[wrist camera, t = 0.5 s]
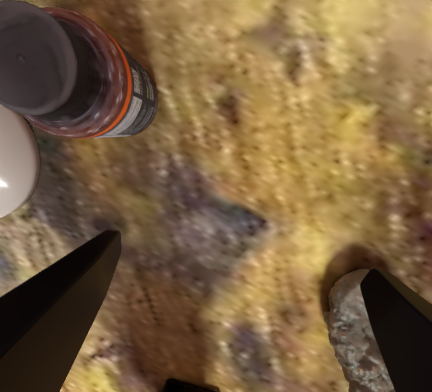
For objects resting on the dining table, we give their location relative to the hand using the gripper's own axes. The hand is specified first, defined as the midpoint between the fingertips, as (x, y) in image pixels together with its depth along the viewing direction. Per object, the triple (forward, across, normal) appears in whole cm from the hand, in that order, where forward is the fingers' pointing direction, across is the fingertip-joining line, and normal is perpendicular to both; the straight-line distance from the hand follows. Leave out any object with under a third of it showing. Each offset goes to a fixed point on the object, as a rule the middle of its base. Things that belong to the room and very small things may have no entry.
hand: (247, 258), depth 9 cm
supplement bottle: (+15, +9, -1) cm, 18 cm away
